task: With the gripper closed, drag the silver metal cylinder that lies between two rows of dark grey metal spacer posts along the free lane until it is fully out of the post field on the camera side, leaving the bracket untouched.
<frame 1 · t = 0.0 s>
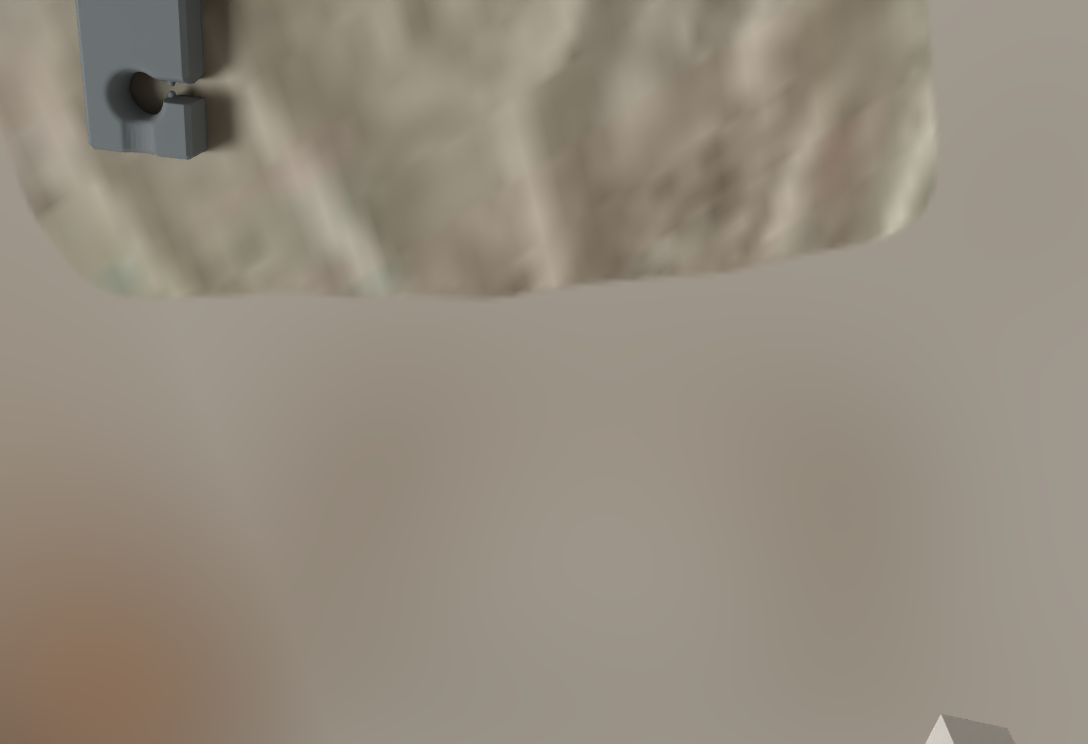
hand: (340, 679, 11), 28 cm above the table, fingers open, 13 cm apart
bracket: (154, 0, 35), on the table
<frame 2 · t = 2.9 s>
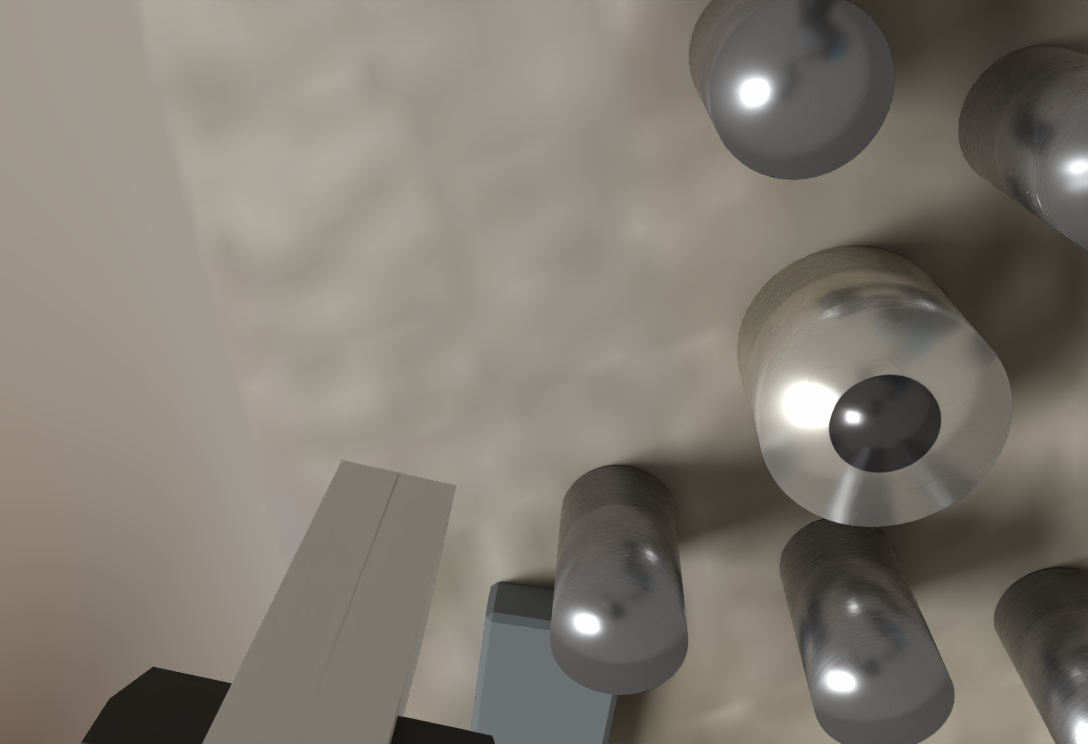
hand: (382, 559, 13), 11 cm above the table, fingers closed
spacer field: (923, 366, 23), on the table
bracket: (539, 714, 30), on the table
silver metal cylinder: (842, 345, 23), on the table
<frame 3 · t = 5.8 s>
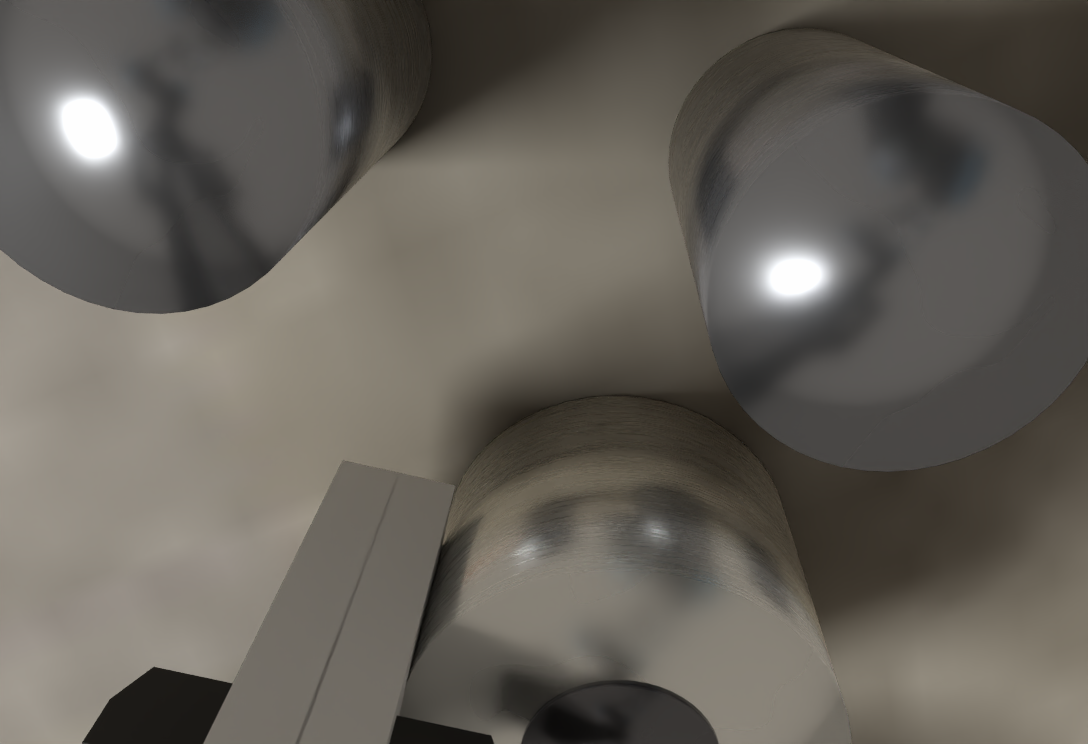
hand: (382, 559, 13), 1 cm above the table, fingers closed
spacer field: (664, 555, 14), on the table
silver metal cylinder: (615, 548, 14), on the table, touching gripper
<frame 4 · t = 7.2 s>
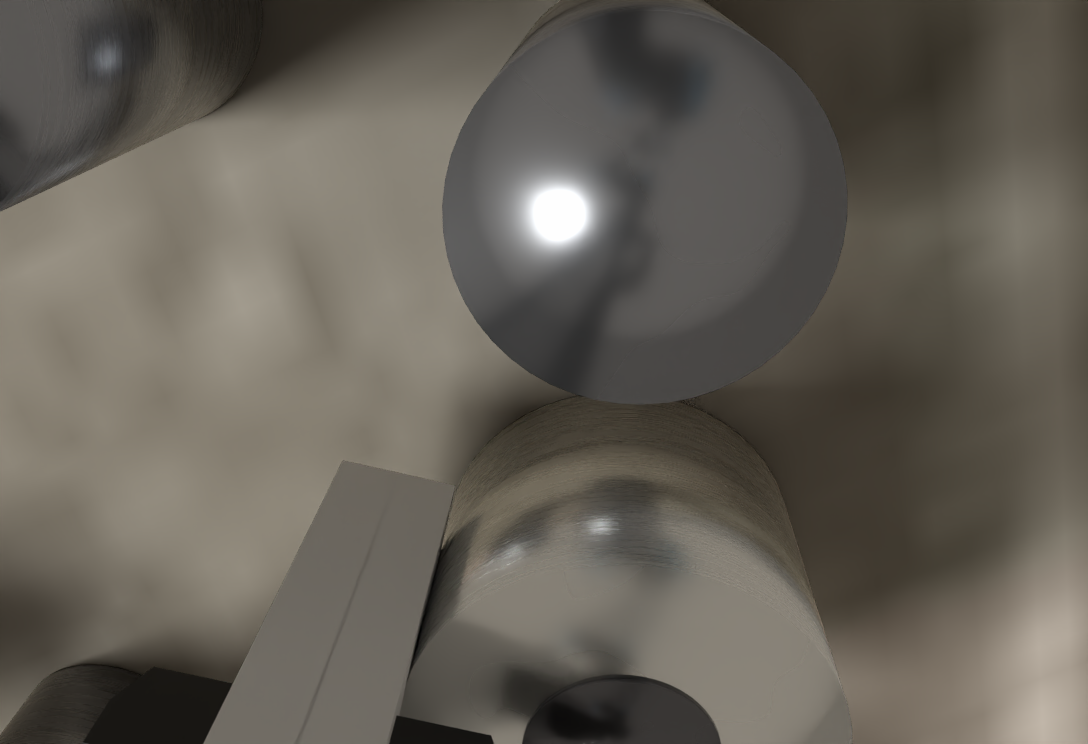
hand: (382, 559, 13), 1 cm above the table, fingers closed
spacer field: (123, 431, 14), on the table
silver metal cylinder: (617, 544, 14), on the table, touching gripper
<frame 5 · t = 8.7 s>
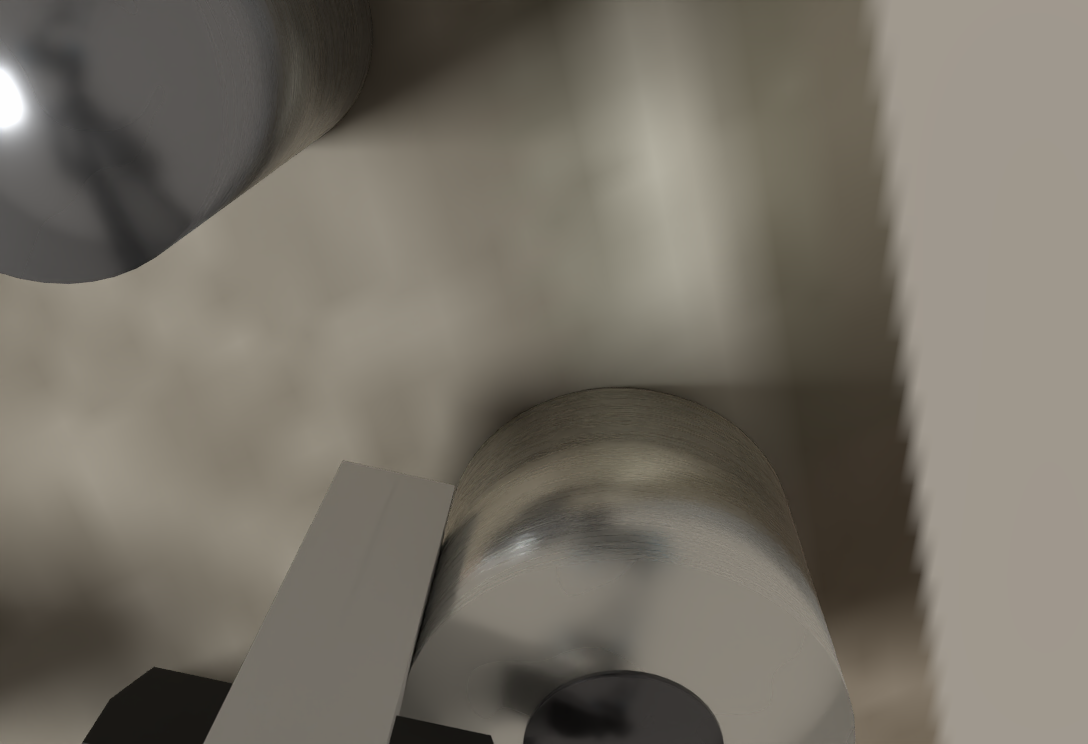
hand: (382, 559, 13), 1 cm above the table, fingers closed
silver metal cylinder: (618, 541, 14), on the table, touching gripper
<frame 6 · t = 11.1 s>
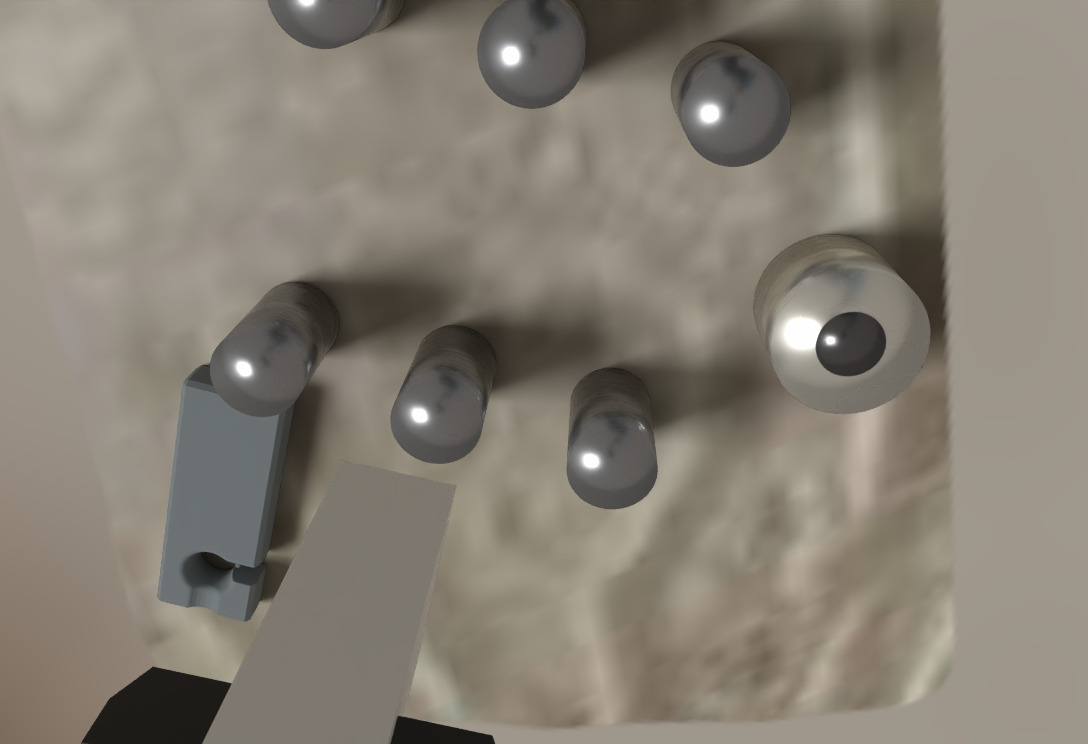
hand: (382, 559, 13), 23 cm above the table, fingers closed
spacer field: (495, 211, 34), on the table
bracket: (235, 481, 40), on the table
silver metal cylinder: (823, 301, 35), on the table
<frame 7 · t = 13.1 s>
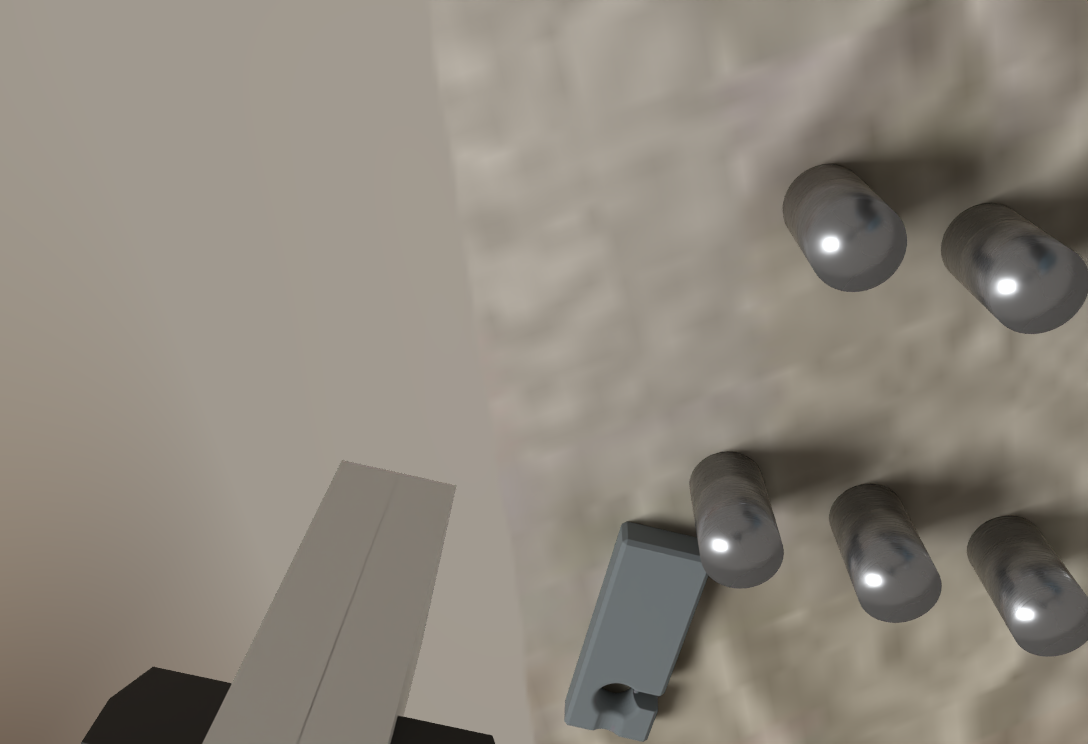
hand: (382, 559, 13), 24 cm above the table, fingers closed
spacer field: (921, 388, 38), on the table
bracket: (634, 616, 44), on the table
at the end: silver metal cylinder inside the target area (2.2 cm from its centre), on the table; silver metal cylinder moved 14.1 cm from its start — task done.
